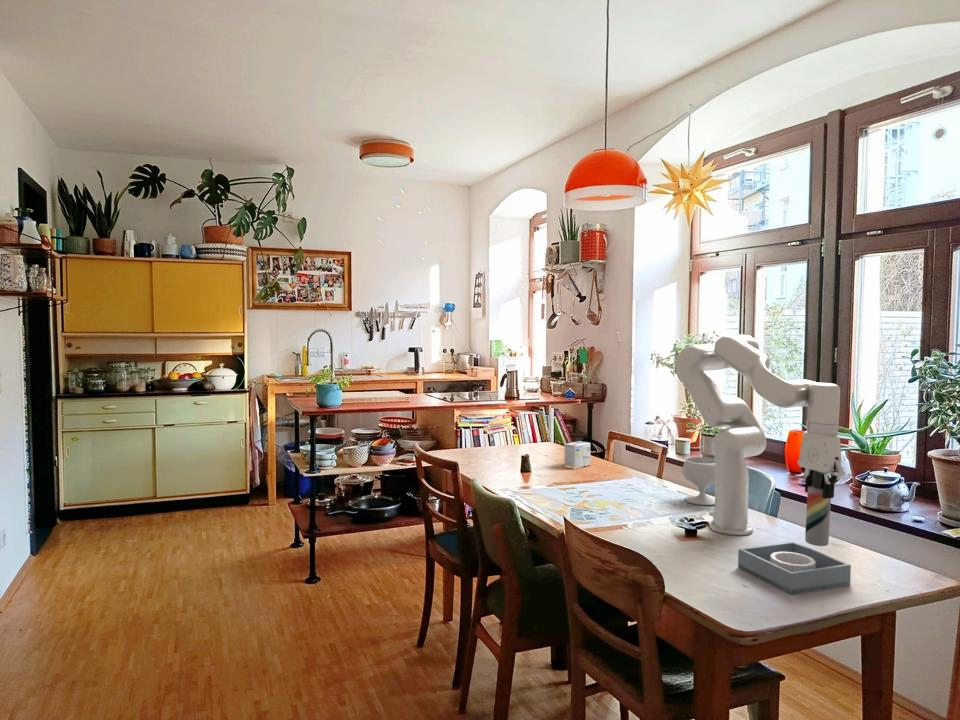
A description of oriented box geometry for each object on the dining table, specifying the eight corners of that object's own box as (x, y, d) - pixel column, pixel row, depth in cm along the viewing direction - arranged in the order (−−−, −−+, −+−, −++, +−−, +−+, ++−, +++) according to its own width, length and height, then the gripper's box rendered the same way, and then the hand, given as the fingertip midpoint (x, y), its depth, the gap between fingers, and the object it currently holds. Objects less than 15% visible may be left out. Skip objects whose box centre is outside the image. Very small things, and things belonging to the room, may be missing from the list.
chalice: (707, 509, 223) (708, 466, 223) (673, 500, 235) (674, 459, 234) (731, 502, 232) (731, 461, 231) (697, 494, 243) (698, 454, 242)
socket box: (738, 567, 169) (738, 548, 169) (793, 559, 175) (793, 541, 175) (791, 594, 152) (791, 573, 152) (850, 585, 158) (850, 564, 158)
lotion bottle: (807, 537, 181) (811, 467, 179) (830, 542, 177) (834, 470, 176) (802, 543, 177) (806, 470, 175) (825, 548, 173) (829, 474, 171)
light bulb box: (579, 464, 297) (579, 440, 296) (591, 466, 292) (591, 442, 291) (563, 467, 290) (563, 443, 289) (574, 469, 285) (575, 445, 284)
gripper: (787, 424, 182) (784, 487, 183) (838, 435, 165) (834, 505, 167) (808, 423, 184) (805, 485, 185) (860, 434, 168) (856, 502, 169)
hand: (819, 494), depth 176 cm, fingers closed on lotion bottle, 5 cm apart
